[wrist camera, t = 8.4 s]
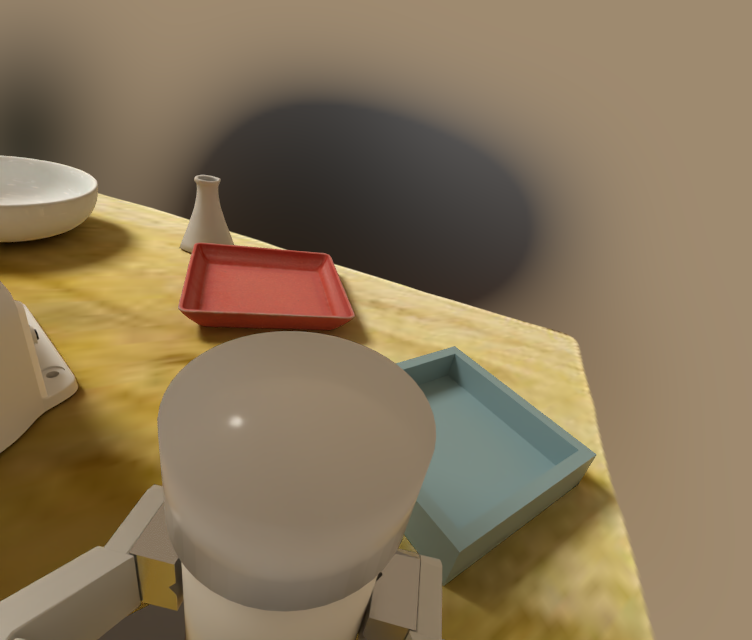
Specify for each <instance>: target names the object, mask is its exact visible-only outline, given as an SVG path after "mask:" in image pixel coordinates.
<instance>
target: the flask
mask: <svg viewBox="0 0 752 640" xmlns="http://www.w3.org/2000/svg"><path fill="white" fill-rule="evenodd" d="M194 180H195V182H196V183H197V196H196V202H195V207H194V210H193V213H192V216H191V219H190V222H189V224H188V227H187V230H186V232H185V235H184V237H183V240H182V243H181V245H180V248H181V249H183V250H186V251H188V252H190V253H192V250H193V247H194V244H195V243H213V244H224V245H234V244H233V241H232V238H231V235H230V233H229V230H228V227H227V225H226V222H225V219H224V216H223V213H222V210H221V207H220V202H219V196H218V185H219V183H220V178H217V177H214V176H207V175H199V176H196V177H195V178H194Z"/></svg>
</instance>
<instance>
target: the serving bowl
mask: <svg viewBox="0 0 752 640" xmlns="http://www.w3.org/2000/svg"><path fill="white" fill-rule="evenodd" d="M97 195H98V183H97V181H96V179H94V178H93V177H92V176H91V175H89V174H87V173H86V172H84V171H81V170H79V169H76V168H73V167H70V166H66V165H62V164H58V163H53V162H48V161H42V160H36V159H29V158H21V157H11V156H0V242H19V241H29V240H36V239H42V238H47V237H51V236H55V235H59V234H61V233H64V232H67V231H69V230H71V229H73V228H75V227H77V226H78V225H80V224H81V223H83V222H84V221H85V220H86V219H87V218H88V217H89V216H90V214H91V213H92V211H93V209H94V207H95V204H96V201H97Z"/></svg>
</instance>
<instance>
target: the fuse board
mask: <svg viewBox="0 0 752 640" xmlns="http://www.w3.org/2000/svg"><path fill="white" fill-rule="evenodd" d="M97 640H185V615H184V599H183V601H182V603H181V605H180V607H179V609H178V611H176V610H172V609H168V608H164V607H160V606H156V605H151V604H150V605H148V606H146V607H144V608H142V609H140V610H138V611H136V612H134V613H132V614H130V615H128V616H126V617H125V618H124V619H122V620H121V621H120V622H119V623H117V624H116V625H115V626H114V627H112V628H111V629H110V630H109V631H107V632H106V633H105V634H104V635H102V636H101V637H100V638H99V639H97Z"/></svg>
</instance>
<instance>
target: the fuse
mask: <svg viewBox="0 0 752 640" xmlns="http://www.w3.org/2000/svg"><path fill="white" fill-rule="evenodd" d="M158 438H159V450H160V462H161V474H162V486H163V497H164V509H165V521H166V526H167V531H168V535H169V538H170V541H171V543H172V546H173V548H174V550H175V552H176V554H177V556H178V557H179V559H180V560H181V564H182V581H183V598H184V615H185V640H356V638H357V635H358V632H359V629H360V626H361V623H362V620H363V617H364V614H365V611H366V608H367V605H368V602H369V599H370V596H371V594H372V591H373V588H374V585H375V582H376V579H377V576H378V574H379V573H380V572H381V571H382V570H383V569H384V568H385V567H386V565H387V564H388V563H389V561H390V560H391V559H392V557H393V556H394V554H395V553H396V551H397V549H398V547H399V545H400V543H401V541H402V538H403V536H404V533H405V530H406V527H407V525H408V522H409V519H410V516H411V514H412V511H413V508H414V505H415V503H416V500H417V497H418V494H419V492H420V489H421V486H422V484H423V481H424V478H425V475H426V473H427V470H428V467H429V464H430V462H431V459H432V456H433V453H434V449H435V442H436V424H435V420H434V415H433V412H432V409H431V407H430V404H429V402H428V400H427V398H426V396H425V395H424V393H423V391H422V390H421V389H420V387H419V386H418V385H417V383H416V382H415V381H414V380H413V379H412V378H411V377H410V376H409V375H408V374H407V373H406V372H405V371H404V370H403V369H402V368H400V367H399V366H398V365H397V364H395V363H394V362H392V361H391V360H390V359H388V358H387V357H385V356H383V355H381V354H380V353H378V352H376V351H374V350H372V349H370V348H368V347H366V346H363V345H361V344H358V343H355V342H353V341H350V340H346V339H343V338H339V337H335V336H331V335H326V334H320V333H313V332H301V331H278V332H266V333H259V334H253V335H249V336H244V337H240V338H237V339H234V340H231V341H228V342H225V343H223V344H220V345H218V346H216V347H213V348H212V349H210V350H208V351H206V352H204V353H202V354H201V355H199V356H198V357H197V358H195V359H194V360H192V361H191V362H190V363H189V364H187V365H186V366H185V367H184V368H183V369H182V370H181V371H180V372H179V373H178V374H177V375H176V377H175V378H174V379H173V380H172V381H171V383H170V385H169V386H168V388H167V390H166V392H165V393H164V396H163V399H162V401H161V404H160V408H159V414H158Z"/></svg>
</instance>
